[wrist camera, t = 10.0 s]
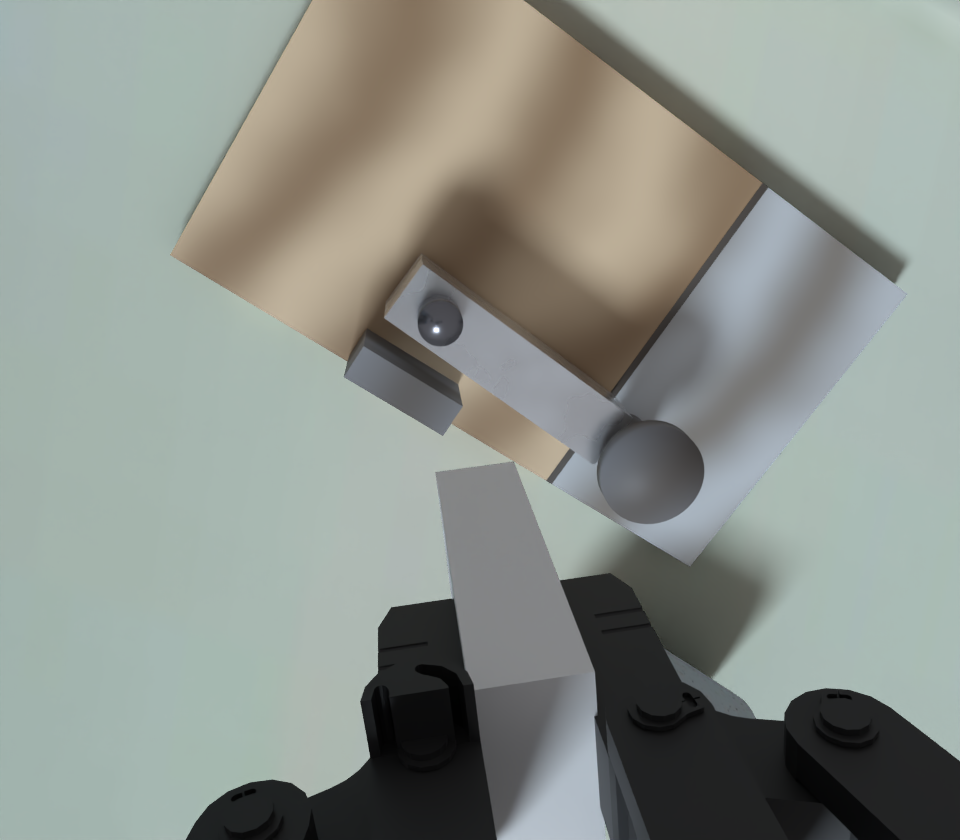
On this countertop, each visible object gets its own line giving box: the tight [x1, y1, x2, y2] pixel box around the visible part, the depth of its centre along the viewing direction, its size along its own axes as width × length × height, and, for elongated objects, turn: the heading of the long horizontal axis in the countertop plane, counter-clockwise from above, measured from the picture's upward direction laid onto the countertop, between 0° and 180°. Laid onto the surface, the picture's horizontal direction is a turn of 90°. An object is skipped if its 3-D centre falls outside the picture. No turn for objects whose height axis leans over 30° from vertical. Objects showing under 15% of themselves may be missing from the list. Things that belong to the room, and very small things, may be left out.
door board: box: [170, 0, 907, 567], centre depth 33 cm, size 26×15×6 cm, turn 56°
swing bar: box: [384, 253, 633, 465], centre depth 33 cm, size 10×2×4 cm, turn 53°
